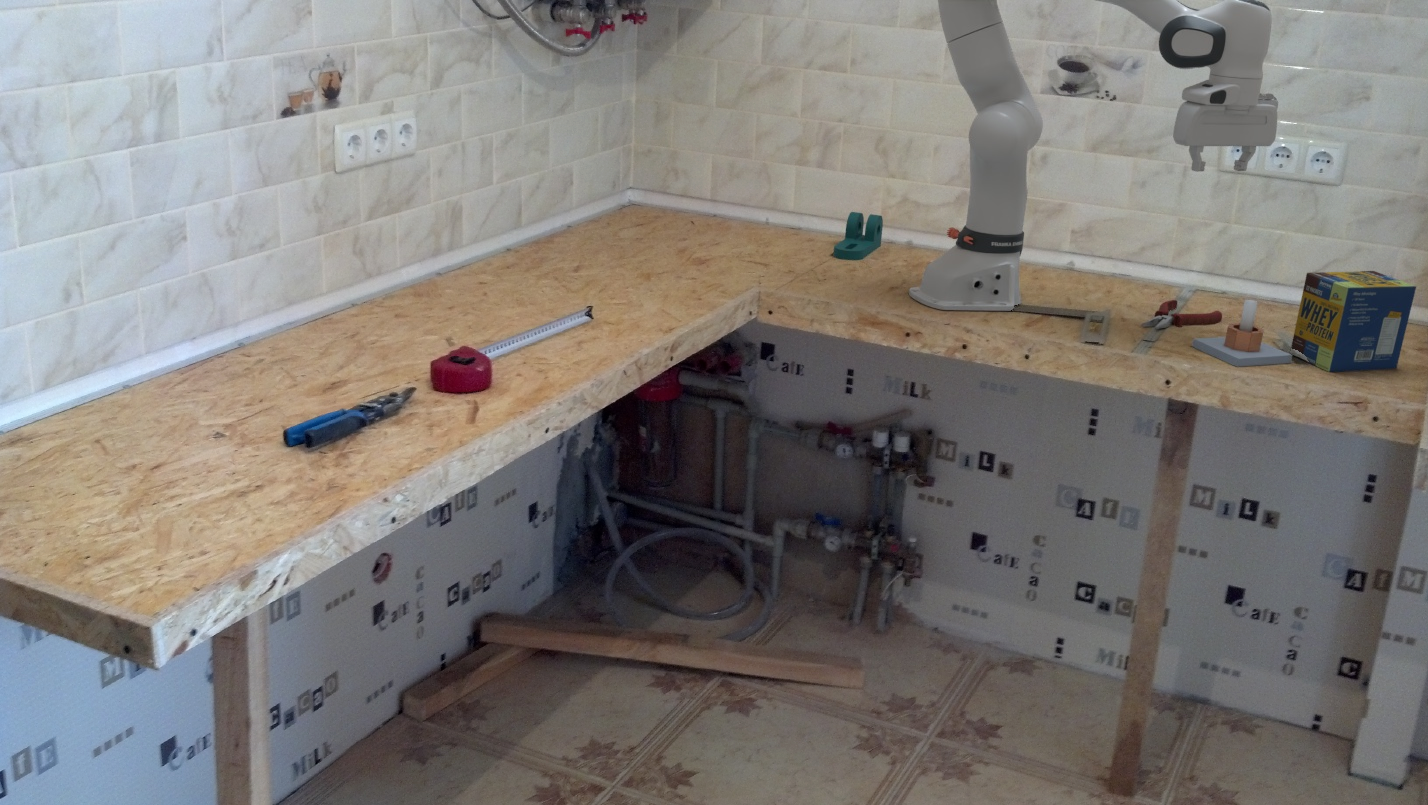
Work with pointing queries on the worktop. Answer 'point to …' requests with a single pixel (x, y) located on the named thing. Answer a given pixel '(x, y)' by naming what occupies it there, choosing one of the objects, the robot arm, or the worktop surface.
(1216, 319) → the pliers
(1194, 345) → the shaft block
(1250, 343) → the ring
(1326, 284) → the protein box
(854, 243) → the bracket
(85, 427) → the worktop surface
